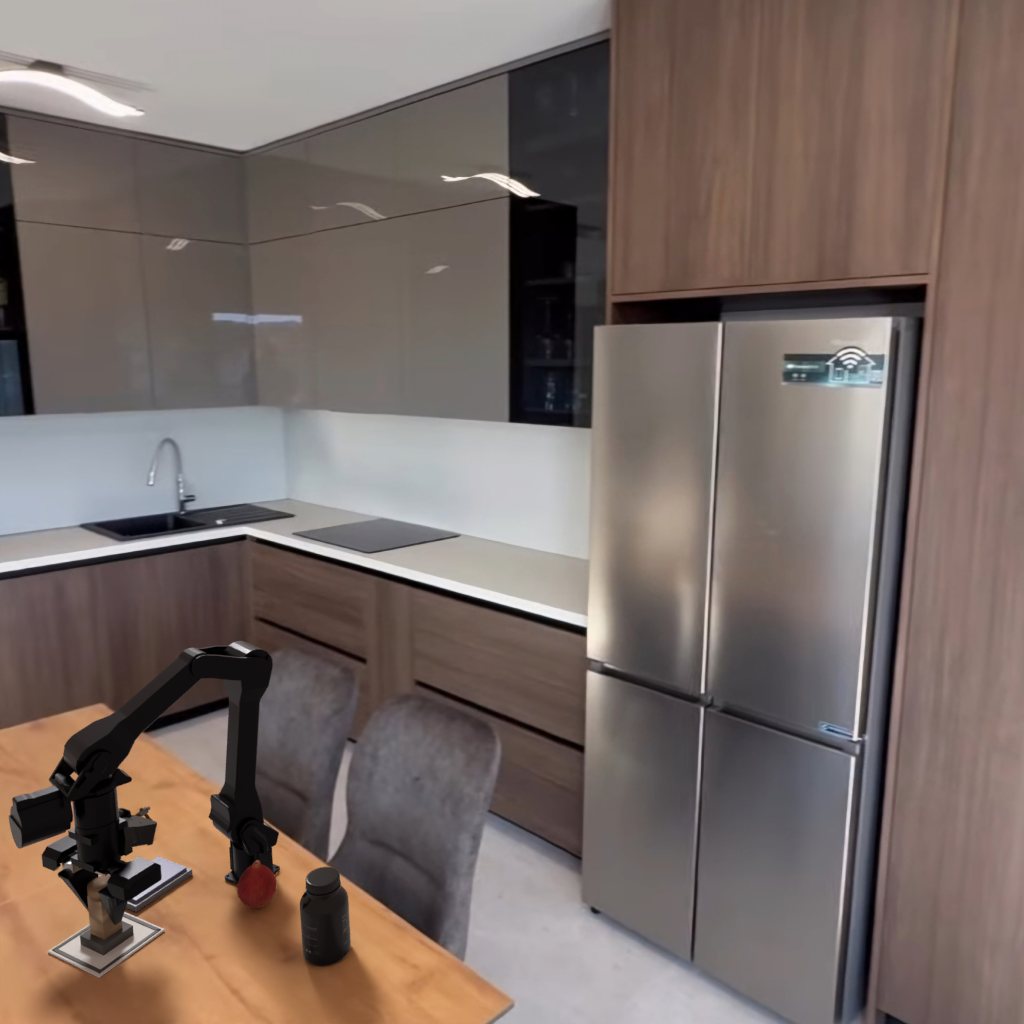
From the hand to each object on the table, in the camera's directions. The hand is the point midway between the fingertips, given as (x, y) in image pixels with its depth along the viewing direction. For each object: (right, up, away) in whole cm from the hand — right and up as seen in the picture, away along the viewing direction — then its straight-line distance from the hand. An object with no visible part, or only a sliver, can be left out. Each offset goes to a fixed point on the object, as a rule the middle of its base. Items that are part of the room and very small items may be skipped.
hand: (105, 917), depth 121 cm
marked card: (0, -4, +1) cm, 4 cm away
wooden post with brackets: (-10, +1, +29) cm, 31 cm away
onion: (+20, -3, +8) cm, 22 cm away
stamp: (0, -4, +1) cm, 4 cm away
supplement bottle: (+33, -4, -1) cm, 33 cm away
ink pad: (0, -2, +14) cm, 14 cm away
